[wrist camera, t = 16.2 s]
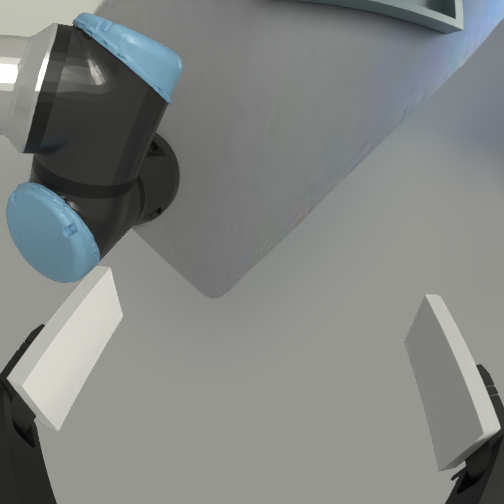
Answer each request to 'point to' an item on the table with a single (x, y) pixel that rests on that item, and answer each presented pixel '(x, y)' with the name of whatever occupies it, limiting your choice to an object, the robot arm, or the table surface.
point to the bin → (411, 11)
